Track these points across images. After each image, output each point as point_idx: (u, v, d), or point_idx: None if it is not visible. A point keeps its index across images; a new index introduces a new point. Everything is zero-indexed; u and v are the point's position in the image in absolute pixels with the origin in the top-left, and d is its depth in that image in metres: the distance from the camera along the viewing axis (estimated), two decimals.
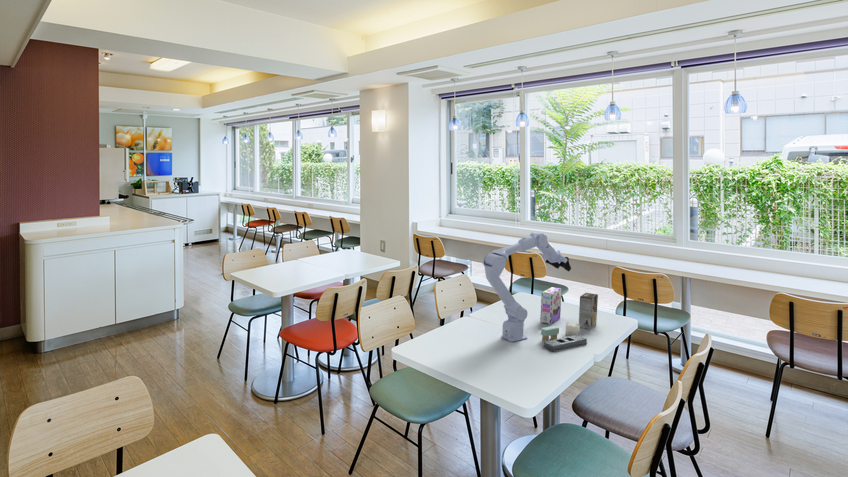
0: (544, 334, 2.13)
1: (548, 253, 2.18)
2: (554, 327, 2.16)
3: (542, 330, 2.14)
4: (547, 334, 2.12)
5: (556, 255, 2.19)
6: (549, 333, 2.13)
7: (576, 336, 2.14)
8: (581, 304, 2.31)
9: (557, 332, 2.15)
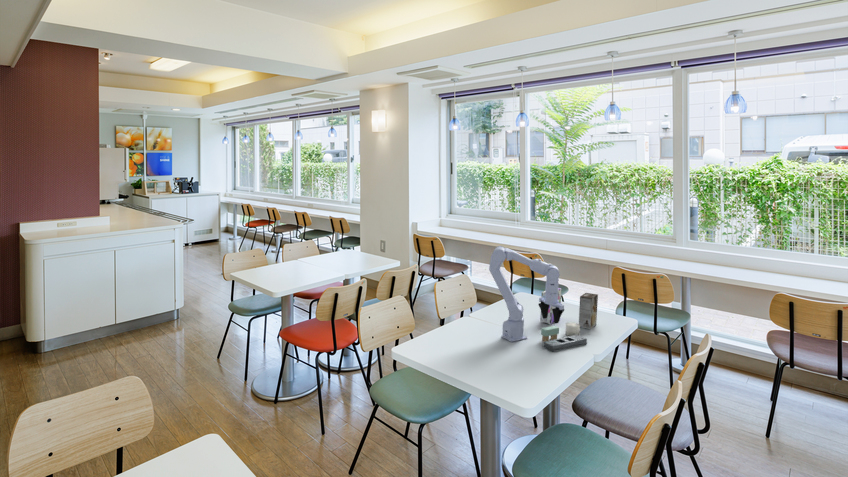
0: (544, 334, 2.13)
1: (548, 290, 2.10)
2: (554, 326, 2.16)
3: (542, 330, 2.14)
4: (547, 334, 2.12)
5: (556, 299, 2.10)
6: (549, 333, 2.13)
7: (576, 336, 2.14)
8: (581, 304, 2.31)
9: (557, 332, 2.15)
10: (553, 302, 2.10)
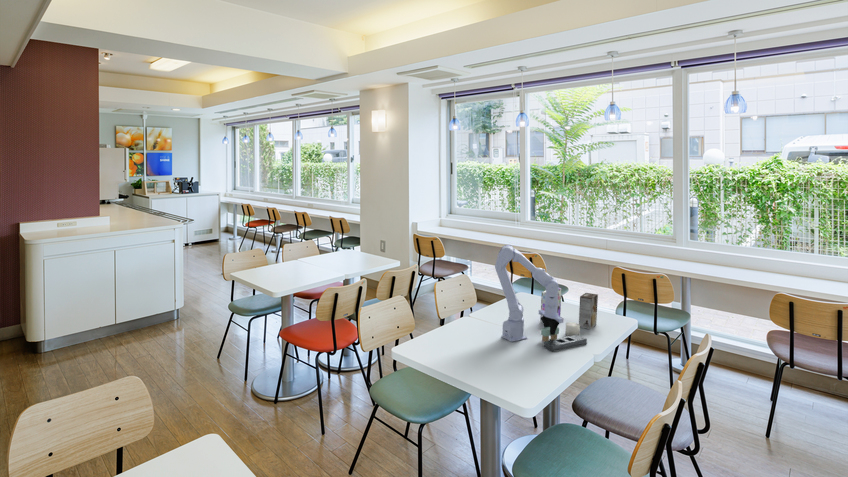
0: (544, 334, 2.13)
1: (547, 304, 2.11)
2: None
3: (542, 330, 2.14)
4: (547, 334, 2.12)
5: (555, 312, 2.11)
6: (549, 332, 2.13)
7: (576, 336, 2.14)
8: (581, 304, 2.31)
9: (557, 332, 2.15)
10: (552, 315, 2.11)
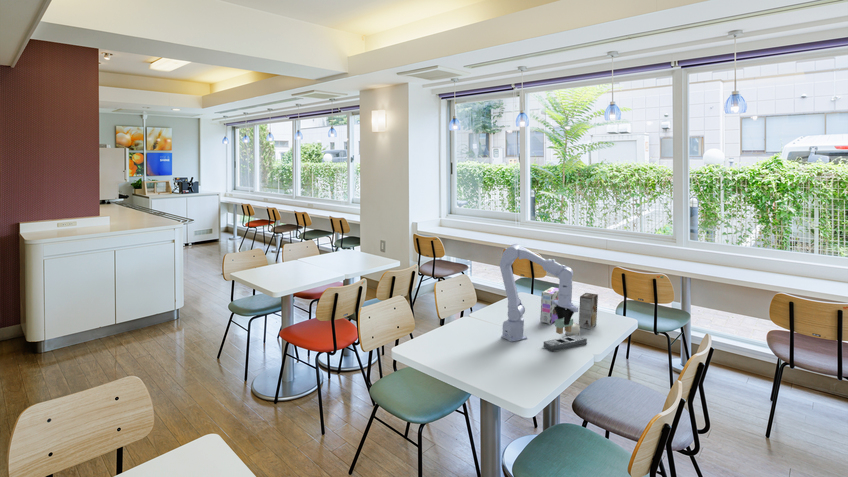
0: (558, 326, 2.06)
1: (560, 292, 2.05)
2: None
3: (556, 321, 2.08)
4: (561, 325, 2.06)
5: (569, 302, 2.05)
6: (563, 324, 2.07)
7: (576, 336, 2.14)
8: (581, 304, 2.31)
9: (571, 323, 2.09)
10: (567, 304, 2.05)
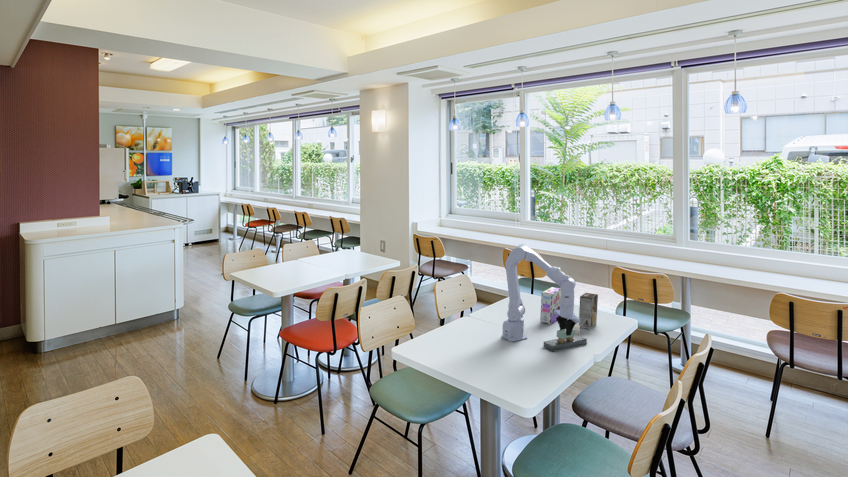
0: (560, 336, 2.06)
1: (562, 303, 2.05)
2: None
3: (558, 332, 2.07)
4: (563, 336, 2.06)
5: (571, 312, 2.05)
6: (565, 335, 2.07)
7: (576, 336, 2.14)
8: (581, 304, 2.31)
9: (573, 334, 2.09)
10: (569, 315, 2.04)
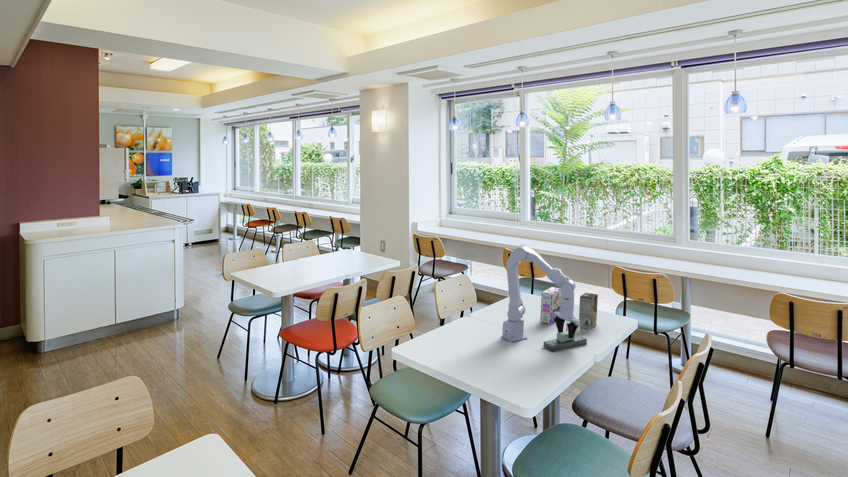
0: (560, 339, 2.06)
1: (562, 305, 2.05)
2: None
3: (558, 335, 2.07)
4: (563, 339, 2.06)
5: (571, 314, 2.05)
6: (565, 337, 2.07)
7: (576, 336, 2.14)
8: (581, 304, 2.31)
9: (573, 337, 2.09)
10: (569, 317, 2.04)
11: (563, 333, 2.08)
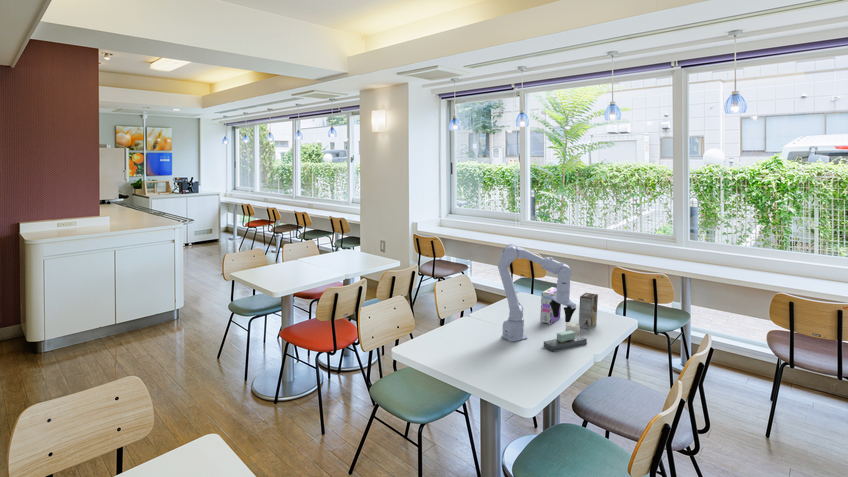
0: (560, 339, 2.06)
1: (559, 289, 2.09)
2: (570, 331, 2.10)
3: (558, 335, 2.07)
4: (563, 339, 2.06)
5: (567, 298, 2.09)
6: (565, 337, 2.07)
7: (576, 336, 2.14)
8: (581, 304, 2.31)
9: (573, 337, 2.09)
10: (565, 301, 2.09)
11: (563, 333, 2.08)
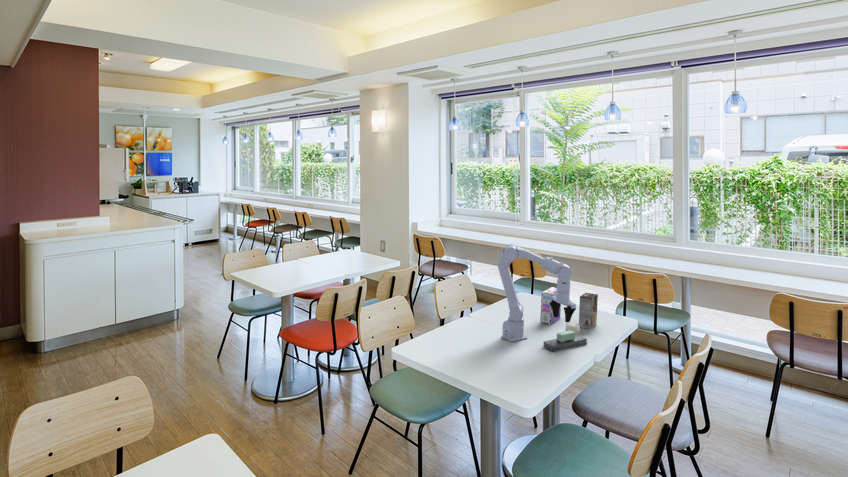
0: (560, 339, 2.06)
1: (559, 289, 2.09)
2: (570, 331, 2.10)
3: (558, 335, 2.07)
4: (563, 339, 2.06)
5: (567, 298, 2.09)
6: (565, 337, 2.07)
7: (576, 336, 2.14)
8: (581, 304, 2.31)
9: (573, 337, 2.09)
10: (565, 301, 2.09)
11: (563, 333, 2.08)
